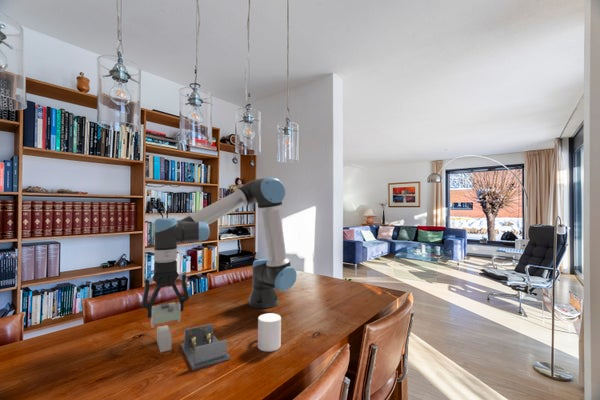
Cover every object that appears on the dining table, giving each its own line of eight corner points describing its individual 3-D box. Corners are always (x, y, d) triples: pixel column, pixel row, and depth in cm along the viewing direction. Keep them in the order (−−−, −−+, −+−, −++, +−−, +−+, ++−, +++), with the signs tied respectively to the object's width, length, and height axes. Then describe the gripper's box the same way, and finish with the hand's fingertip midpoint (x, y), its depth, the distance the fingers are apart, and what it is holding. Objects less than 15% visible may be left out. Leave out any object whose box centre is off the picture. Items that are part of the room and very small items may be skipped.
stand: (156, 340, 105) (157, 327, 105) (166, 338, 107) (167, 325, 107) (160, 352, 97) (160, 337, 97) (171, 349, 99) (171, 335, 99)
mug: (263, 323, 97) (250, 312, 107) (263, 354, 96) (250, 339, 107) (285, 318, 101) (270, 308, 111) (284, 348, 101) (270, 335, 111)
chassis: (180, 345, 101) (181, 329, 102) (214, 337, 108) (214, 322, 108) (192, 370, 86) (192, 350, 87) (230, 359, 93) (230, 340, 93)
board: (151, 312, 105) (151, 303, 106) (174, 308, 110) (174, 299, 110) (155, 324, 95) (155, 314, 95) (180, 318, 100) (180, 309, 100)
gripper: (133, 266, 94) (133, 334, 94) (197, 258, 105) (198, 320, 105) (132, 262, 100) (132, 326, 100) (193, 255, 112) (193, 313, 111)
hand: (165, 323), depth 103 cm, fingers closed on board, 8 cm apart
